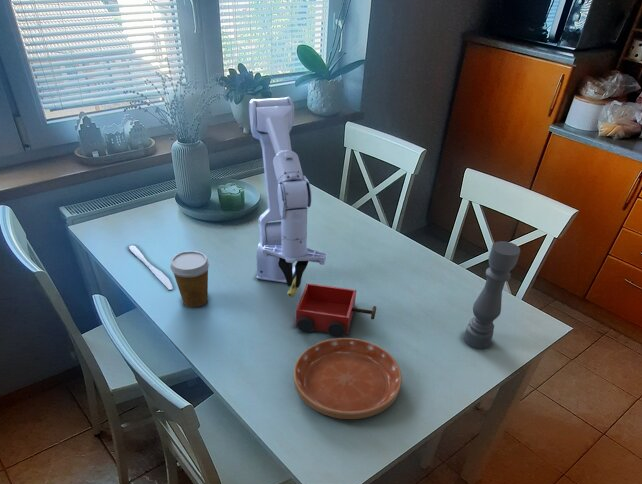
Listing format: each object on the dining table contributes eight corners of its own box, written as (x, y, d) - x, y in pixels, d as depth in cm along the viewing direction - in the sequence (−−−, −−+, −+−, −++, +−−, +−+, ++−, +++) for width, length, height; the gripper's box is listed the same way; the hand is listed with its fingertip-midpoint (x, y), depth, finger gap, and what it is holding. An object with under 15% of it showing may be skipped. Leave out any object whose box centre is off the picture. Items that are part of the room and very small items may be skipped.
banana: (294, 281, 129) (294, 268, 126) (301, 282, 128) (301, 269, 126) (286, 300, 123) (286, 286, 120) (293, 301, 122) (293, 287, 120)
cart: (295, 327, 126) (296, 310, 122) (306, 299, 134) (306, 282, 130) (347, 335, 124) (348, 318, 120) (354, 307, 132) (356, 289, 128)
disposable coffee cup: (220, 293, 135) (215, 253, 127) (203, 314, 129) (197, 273, 121) (187, 286, 138) (181, 246, 129) (169, 306, 131) (161, 266, 123)
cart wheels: (296, 331, 125) (296, 318, 122) (309, 297, 135) (309, 284, 132) (370, 342, 122) (371, 329, 119) (377, 307, 132) (379, 294, 129)
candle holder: (485, 352, 120) (517, 259, 103) (459, 342, 122) (486, 250, 105) (493, 337, 124) (525, 246, 107) (468, 328, 126) (495, 237, 109)
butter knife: (136, 243, 153) (127, 245, 151) (177, 287, 137) (167, 290, 136) (137, 245, 153) (127, 247, 152) (177, 289, 137) (167, 292, 136)
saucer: (320, 438, 100) (321, 426, 98) (278, 364, 116) (277, 352, 113) (420, 405, 107) (423, 393, 105) (367, 339, 123) (369, 327, 120)
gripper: (257, 238, 113) (260, 289, 122) (322, 247, 111) (320, 298, 120) (266, 223, 118) (268, 273, 128) (328, 231, 116) (326, 282, 125)
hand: (294, 284), depth 124 cm, fingers closed on banana, 1 cm apart
